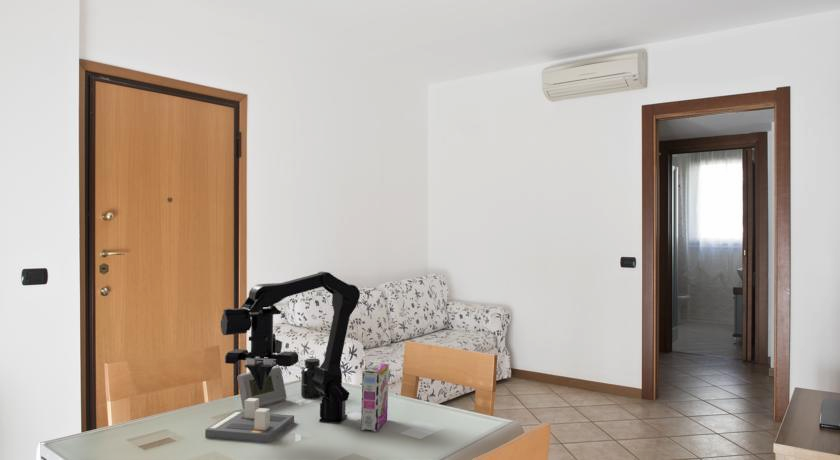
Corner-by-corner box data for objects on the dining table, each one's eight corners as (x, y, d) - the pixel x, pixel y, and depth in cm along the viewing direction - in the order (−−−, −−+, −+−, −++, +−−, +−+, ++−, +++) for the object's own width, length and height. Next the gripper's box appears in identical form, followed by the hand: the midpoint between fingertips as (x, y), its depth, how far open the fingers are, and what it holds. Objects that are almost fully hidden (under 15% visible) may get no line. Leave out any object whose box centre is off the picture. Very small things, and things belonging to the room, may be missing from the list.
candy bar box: (378, 432, 154) (378, 372, 154) (360, 431, 155) (361, 371, 155) (388, 419, 165) (389, 363, 165) (372, 418, 166) (372, 362, 166)
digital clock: (242, 412, 170) (243, 377, 170) (231, 405, 177) (231, 371, 177) (292, 403, 180) (292, 369, 180) (279, 396, 187) (279, 364, 187)
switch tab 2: (269, 426, 151) (269, 408, 151) (264, 430, 149) (265, 411, 149) (259, 425, 152) (259, 408, 152) (254, 429, 149) (254, 411, 149)
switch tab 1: (258, 415, 161) (259, 398, 161) (254, 418, 158) (254, 401, 158) (249, 414, 161) (249, 397, 161) (244, 417, 158) (244, 400, 158)
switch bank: (294, 422, 161) (294, 415, 161) (269, 442, 146) (269, 434, 146) (235, 417, 165) (236, 410, 165) (205, 437, 149) (205, 429, 149)
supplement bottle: (297, 398, 185) (298, 361, 185) (305, 392, 192) (305, 357, 192) (317, 399, 184) (318, 362, 184) (324, 393, 191) (325, 358, 191)
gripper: (306, 327, 159) (305, 383, 159) (244, 325, 162) (243, 380, 162) (290, 335, 148) (289, 394, 148) (224, 332, 151) (223, 390, 151)
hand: (261, 389), depth 152 cm, fingers closed
